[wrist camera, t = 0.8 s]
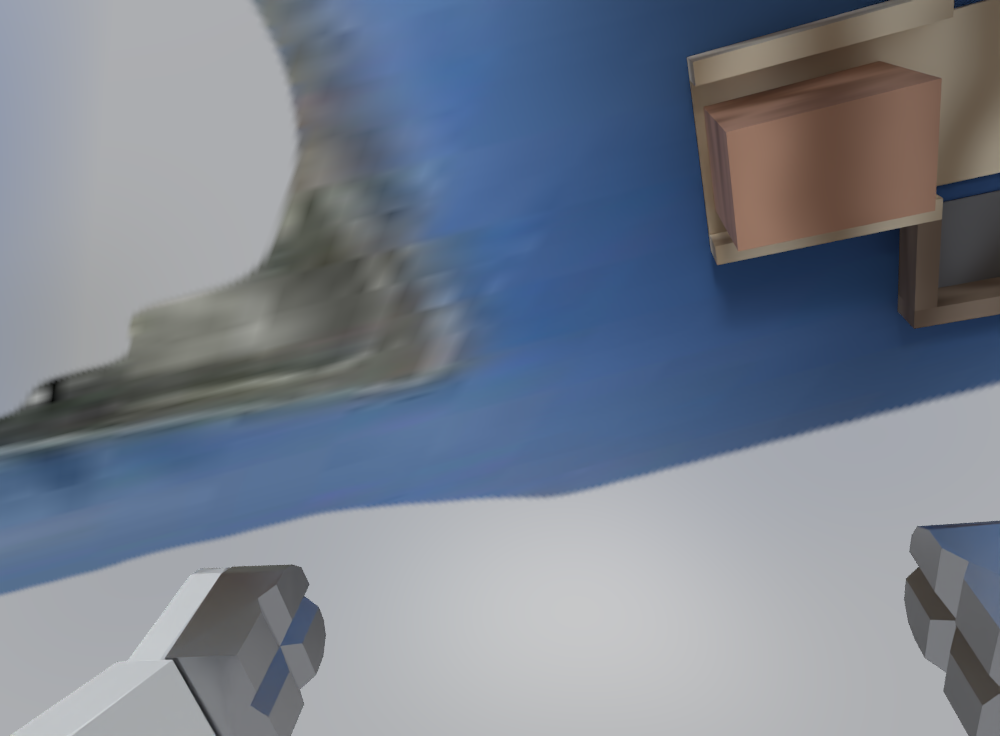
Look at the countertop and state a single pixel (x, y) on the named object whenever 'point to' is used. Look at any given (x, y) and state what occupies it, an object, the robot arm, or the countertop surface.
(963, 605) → the robot arm
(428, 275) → the countertop surface
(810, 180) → the mahogany brick
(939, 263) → the wooden cross frame
